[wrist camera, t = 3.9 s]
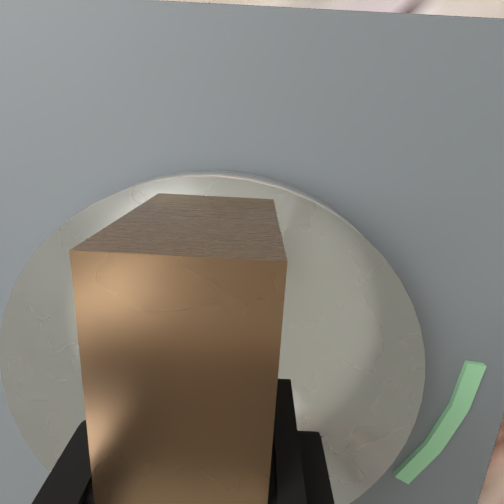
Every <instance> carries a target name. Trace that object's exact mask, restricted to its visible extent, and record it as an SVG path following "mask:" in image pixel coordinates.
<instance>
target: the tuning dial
mask: <svg viewBox="0 0 504 504" xmlns="http://www.w3.org/2000/svg"><path fill="white" fill-rule="evenodd" d="M0 372H1V380H2V384H3V388H4V392H5V396H6V400H7V403H8V406H9V408H10V411H11V413H12V416H13V418H14V421H15V423H16V425H17V427H18V429H19V430H20V432H21V434H22V436H23V437H24V439H25V441H26V443H27V444H28V446H29V447H30V448H31V450H32V451H33V452H34V454H35V455H36V456H37V458H38V459H39V460H40V462H41V463H42V464H43V465H44V466H45V467H46V468H47V469H48V470H49V471H50V472H51V471H52V469H53V467H54V466H55V464H56V462H57V461H58V459H59V457H60V456H61V454H62V452H63V451H64V449H65V447H66V446H67V444H68V442H69V441H70V439H71V437H72V436H73V434H74V433H75V431H76V429H77V428H78V426H79V425H80V423H81V422H82V421H84V420H86V425H87V435H88V445H89V455H90V465H91V475H92V485H93V495H94V503H95V504H268V492H269V480H270V468H271V456H272V444H273V431H274V419H275V407H276V395H277V383H278V379H290V380H291V385H292V393H293V401H294V408H295V416H296V423H297V431H316V432H319V433H320V436H321V440H322V445H323V449H324V454H325V459H326V464H327V469H328V474H329V479H330V484H331V488H332V493H333V498H334V503H335V504H350V503H351V502H353V501H354V500H356V499H357V498H358V497H360V496H361V495H362V494H363V493H365V492H366V491H367V490H368V489H369V488H370V487H371V486H372V485H373V484H374V483H376V482H377V481H378V480H379V479H380V477H381V476H382V475H383V474H384V473H385V472H386V470H387V469H388V468H389V467H390V466H391V465H392V463H393V462H394V461H395V459H396V457H397V456H398V454H399V453H400V451H401V450H402V448H403V447H404V445H405V444H406V442H407V439H408V437H409V435H410V433H411V431H412V429H413V427H414V424H415V422H416V419H417V415H418V412H419V409H420V405H421V402H422V397H423V389H424V382H425V350H424V344H423V338H422V333H421V327H420V324H419V321H418V318H417V315H416V312H415V309H414V307H413V304H412V301H411V300H410V298H409V296H408V294H407V292H406V290H405V288H404V286H403V284H402V282H401V280H400V279H399V277H398V276H397V274H396V273H395V272H394V270H393V269H392V268H391V266H390V265H389V263H388V262H387V261H386V259H385V258H384V257H383V255H382V254H381V253H380V252H379V251H378V250H377V249H376V248H375V247H374V246H373V245H372V244H371V243H370V242H369V241H368V240H367V239H366V238H365V237H364V236H363V235H362V234H361V233H360V232H359V231H358V230H357V229H356V228H355V227H354V226H353V225H352V224H351V223H350V222H349V221H348V220H347V219H346V218H345V217H343V216H342V215H341V214H340V213H338V212H337V211H336V210H334V209H333V208H332V207H330V206H329V205H328V204H327V203H325V202H323V201H322V200H320V199H318V198H316V197H315V196H313V195H311V194H309V193H308V192H306V191H304V190H302V189H300V188H297V187H295V186H292V185H290V184H287V183H285V182H283V181H280V180H278V179H274V178H270V177H266V176H262V175H258V174H254V173H250V172H242V171H234V170H225V169H205V170H190V171H183V172H176V173H170V174H166V175H162V176H159V177H155V178H152V179H149V180H145V181H142V182H140V183H138V184H135V185H133V186H131V187H129V188H126V189H124V190H122V191H120V192H118V193H115V194H113V195H111V196H109V197H107V198H104V199H102V200H100V201H98V202H95V203H93V204H92V205H90V206H88V207H87V208H85V209H84V210H82V211H81V212H79V213H78V214H76V215H74V216H73V217H71V218H70V219H68V220H67V221H66V222H65V223H64V224H62V225H61V226H60V227H59V228H58V229H57V230H56V231H54V232H53V233H52V234H51V235H50V236H49V237H48V238H46V240H45V241H44V242H43V243H42V244H41V246H40V247H39V248H38V249H37V250H36V252H35V253H34V254H33V255H32V256H31V258H30V259H29V260H28V262H27V263H26V265H25V267H24V268H23V270H22V272H21V273H20V275H19V277H18V278H17V280H16V282H15V284H14V286H13V289H12V292H11V294H10V297H9V299H8V302H7V304H6V307H5V312H4V316H3V321H2V325H1V330H0Z"/></svg>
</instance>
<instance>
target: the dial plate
mask: <svg viewBox="0 0 504 504" xmlns="http://www.w3.org/2000/svg"><path fill="white" fill-rule="evenodd" d="M205 169H225V170H234V171H242V172H250V173H254V174H258V175H262V176H266V177H270V178H274V179H278V180H280V181H283V182H285V183H287V184H290V185H292V186H295V187H297V188H300V189H302V190H304V191H306V192H308V193H309V194H311V195H313V196H315V197H316V198H318V199H320V200H322V201H323V202H325V203H327V204H328V205H329V206H330V207H332V208H333V209H334V210H336V211H337V212H338V213H340V214H341V215H342V216H343V217H345V218H346V219H347V220H348V221H349V222H350V223H351V224H352V225H353V226H354V227H355V228H356V229H357V230H358V231H359V232H360V233H361V234H362V235H363V236H364V237H365V238H366V239H367V240H368V241H369V242H370V243H371V244H372V245H373V246H374V247H375V248H376V249H377V250H378V251H379V252H380V253H381V254H382V255H383V257H384V258H385V259H386V261H387V262H388V263H389V265H390V266H391V268H392V269H393V270H394V272H395V273H396V274H397V276H398V277H399V279H400V280H401V282H402V284H403V286H404V288H405V290H406V292H407V294H408V296H409V298H410V300H411V301H412V304H413V307H414V309H415V312H416V315H417V318H418V321H419V324H420V327H421V333H422V338H423V344H424V350H425V382H424V389H423V397H422V402H421V405H420V409H419V412H418V415H417V419H416V422H415V424H414V427H413V429H412V431H411V433H410V435H409V437H408V439H407V442H406V444H405V445H404V447H403V448H402V450H401V451H400V453H399V454H398V456H397V457H396V459H395V461H394V462H393V463H392V465H391V466H390V467H389V468H388V469H387V470H386V472H385V473H384V474H383V475H382V476H381V477H380V479H379V480H378V481H377V482H376V483H374V484H373V485H372V486H371V487H370V488H369V489H368V490H367V491H366V492H365V493H363V494H362V495H361V496H360V497H358V498H357V499H356V500H354V501H353V502H351V503H350V504H477V502H478V499H479V495H480V492H481V489H482V486H483V482H484V479H485V476H486V472H487V469H488V466H489V462H490V459H491V456H492V452H493V449H494V446H495V442H496V439H497V436H498V432H499V429H500V426H501V422H502V419H503V416H504V19H501V18H482V17H463V16H444V15H425V14H406V13H387V12H368V11H349V10H330V9H311V8H292V7H273V6H254V5H235V4H216V3H197V2H178V1H159V0H0V330H1V325H2V321H3V316H4V312H5V307H6V304H7V302H8V299H9V297H10V294H11V292H12V289H13V286H14V284H15V282H16V280H17V278H18V277H19V275H20V273H21V272H22V270H23V268H24V267H25V265H26V263H27V262H28V260H29V259H30V258H31V256H32V255H33V254H34V253H35V252H36V250H37V249H38V248H39V247H40V246H41V244H42V243H43V242H44V241H45V240H46V238H48V237H49V236H50V235H51V234H52V233H53V232H54V231H56V230H57V229H58V228H59V227H60V226H61V225H62V224H64V223H65V222H66V221H67V220H68V219H70V218H71V217H73V216H74V215H76V214H78V213H79V212H81V211H82V210H84V209H85V208H87V207H88V206H90V205H92V204H93V203H95V202H98V201H100V200H102V199H104V198H107V197H109V196H111V195H113V194H115V193H118V192H120V191H122V190H124V189H126V188H129V187H131V186H133V185H135V184H138V183H140V182H142V181H145V180H149V179H152V178H155V177H159V176H162V175H166V174H170V173H176V172H183V171H190V170H205ZM49 474H50V471H49V470H48V469H47V468H46V467H45V466H44V465H43V464H42V463H41V462H40V460H39V459H38V458H37V456H36V455H35V454H34V452H33V451H32V450H31V448H30V447H29V446H28V444H27V443H26V441H25V439H24V437H23V436H22V434H21V432H20V430H19V429H18V427H17V425H16V423H15V421H14V418H13V416H12V413H11V411H10V408H9V406H8V403H7V400H6V396H5V392H4V388H3V384H2V380H1V372H0V504H32V502H33V500H34V499H35V497H36V495H37V494H38V492H39V490H40V489H41V487H42V485H43V484H44V482H45V480H46V479H47V477H48V476H49Z"/></svg>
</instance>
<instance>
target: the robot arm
mask: <svg viewBox="0 0 504 504" xmlns="http://www.w3.org/2000/svg"><path fill="white" fill-rule="evenodd" d="M32 504H95V503H94V495H93V485H92V475H91V465H90V455H89V445H88V435H87V425H86V420H84V421H82V422H81V423H80V425H79V426H78V428H77V429H76V431H75V433H74V434H73V436H72V437H71V439H70V441H69V442H68V444H67V446H66V447H65V449H64V451H63V452H62V454H61V456H60V457H59V459H58V461H57V462H56V464H55V466H54V467H53V469H52V471H51V472H50V474H49V476H48V477H47V479H46V480H45V482H44V484H43V485H42V487H41V489H40V490H39V492H38V494H37V495H36V497H35V499H34V500H33V502H32ZM268 504H335V503H334V498H333V493H332V488H331V484H330V479H329V474H328V469H327V464H326V459H325V454H324V449H323V445H322V440H321V436H320V433H319V432H316V431H297V423H296V416H295V408H294V401H293V393H292V385H291V380H290V379H278V383H277V395H276V407H275V419H274V431H273V444H272V456H271V468H270V480H269V492H268Z"/></svg>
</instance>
